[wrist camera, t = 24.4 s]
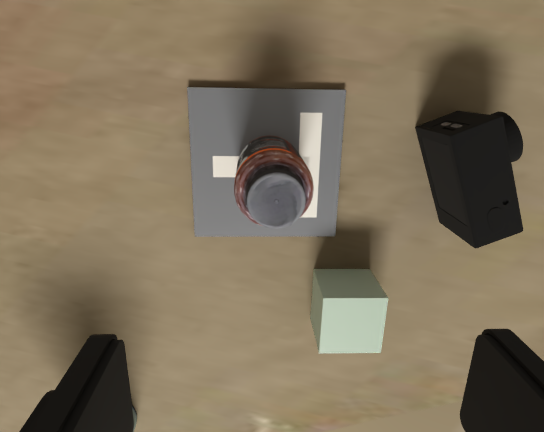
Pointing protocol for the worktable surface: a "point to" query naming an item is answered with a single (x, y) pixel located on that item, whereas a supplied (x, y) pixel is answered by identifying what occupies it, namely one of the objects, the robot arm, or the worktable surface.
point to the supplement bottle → (272, 183)
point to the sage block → (347, 311)
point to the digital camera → (473, 174)
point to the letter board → (248, 126)
